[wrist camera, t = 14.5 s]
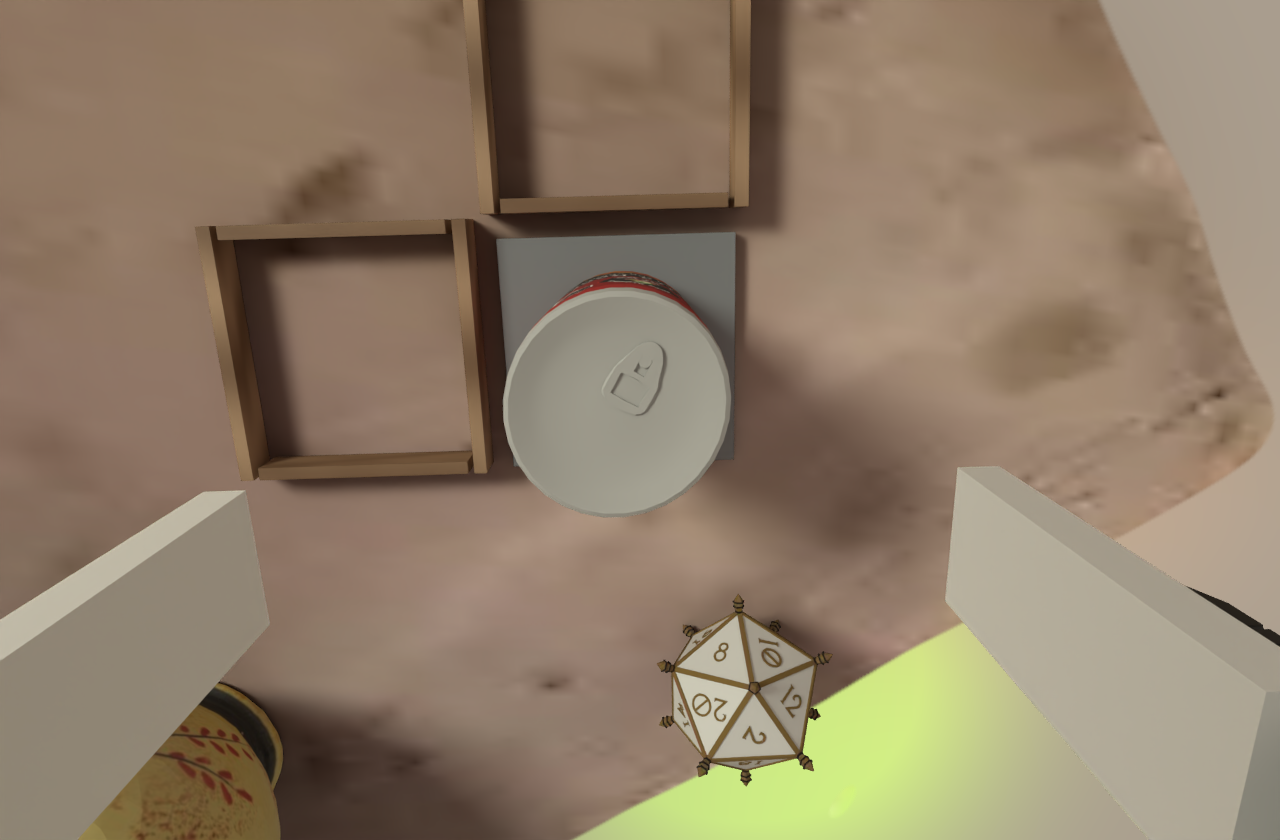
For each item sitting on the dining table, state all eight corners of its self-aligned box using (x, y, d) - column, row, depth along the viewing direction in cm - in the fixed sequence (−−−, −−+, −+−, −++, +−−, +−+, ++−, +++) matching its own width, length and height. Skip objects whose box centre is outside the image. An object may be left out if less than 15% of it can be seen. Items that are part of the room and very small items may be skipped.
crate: (217, 226, 33) (194, 226, 31) (473, 219, 33) (464, 218, 32) (259, 468, 36) (240, 480, 34) (493, 461, 36) (487, 473, 35)
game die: (703, 637, 43) (619, 779, 36) (706, 537, 38) (609, 680, 32) (848, 699, 40) (784, 871, 33) (871, 598, 35) (802, 775, 28)
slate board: (498, 238, 34) (496, 238, 33) (733, 232, 34) (735, 232, 33) (515, 462, 36) (513, 466, 36) (732, 455, 36) (733, 459, 36)
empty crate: (465, -77, 30) (454, -96, 28) (744, -85, 30) (752, -103, 29) (488, 214, 33) (480, 213, 31) (742, 207, 33) (748, 206, 32)
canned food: (719, 290, 34) (761, 318, 23) (677, 448, 36) (698, 542, 25) (559, 251, 33) (526, 261, 22) (526, 414, 35) (481, 495, 24)
